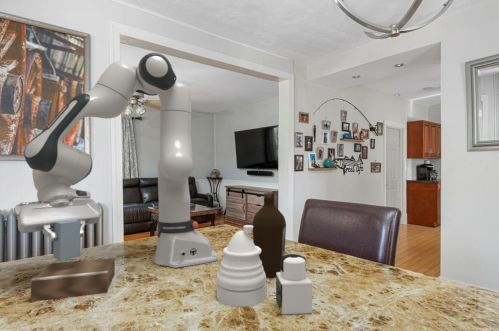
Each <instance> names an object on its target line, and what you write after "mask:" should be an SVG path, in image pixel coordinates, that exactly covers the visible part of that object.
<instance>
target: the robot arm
mask: <svg viewBox="0 0 499 331" xmlns="http://www.w3.org/2000/svg"><path fill="white" fill-rule="evenodd" d="M172 66H173V65H172V64H171V63H170V61H169V59H168V58H167V57H166V56H165V55H163V54H161V53H159V52H150V53H147V54H145V55H144V56H143V57H142V58H141V59H140V60H139V62H138V65H137V66H131V65H130V64H128V63H126V62H124V61H114V62H112V63H111V64H110V65H109V66H108V67H107V68H106V69H105V70H104V72H103V73H102V74H101V75H100V76H99V77H98V79H97V81H96V83H95V84H94V86H93V87H92V88H91V89H90V90H89V91H86V92H85V93H82V92H81V93H78V94H76V95H75V96H74V97H72V99H71V100H69V101H68V102H67V103H66V104H65V106H63V107H62V108H61V110H60V111H59V112H58V114H56V115H55V116H54V118H53V119H52V120H51V121H50V123H48V124H47V126H46V127H45V128H44V129H43V130H42V131H41V132H40V133H39V134H37V135H36V136H35V137H34V138H32V139H31V141H29V143H27V145H26V146H25V148H24V151H23V156H24V159H25V162H26V164H27V165H28V167H29V168H30V169H32V173H31V174H32V181H33V185H34V187H35V190H36V191H37V193H36V198H37V201H30V202H28V201H27V202H20V203H19V204H17V205H15V207H14V214H15V215H16V216H17V217H18V218H17V229H18V231H19V232H20V233H21V234H28V233H34V232H42V234H43V235H44V236H46V237H47V238H49V242H50V243H52V242H53V241H57V239H58V236H57V233H54V231H52V230H54V223H55V222H58V221H66V220H78V221H81V234H80V238H82V237H84V235H85V233H84V228H85V226H86V225H93V224H98V223H99V220H100V219H101V215H102V214H101V213H102V212H101V210H100V209H99V207H98V204H97V202H96V201H95V200H94V199H93V198H92V197H91V196H92V195H91V192H90V191H87V190H81V189H76V188H73V187H72V186H75V185H77V184H79V183H80V182H81V181H83V180H85V179H86V178H87V177H88V176H89V175H90V174H91V172H92V169H93V159H92V156H91V155H90V154H88V153H87V152H84V151H82V150H80V149H78V148H76V147H72V146H71V145H68V144H66V143H64V142H63V140H64V139H65V138H66V136H68V134H69V133H70V131H72V129H73V128H74V127H75V126H76V125H77V123H79V121H81V120H82V119H85V118H89V117H92V118H99V119H107V120H108V119H109V120H110V119H115V118H117V117H119V116H120V115H122V114H123V112H124V111H125V110H126V109H127V106H128V104H129V102H130V101H131V99H132V97H133V95H134V94H135V93H137V94H138V93H139V94H143V95H146V96H150V97H151V96H152V97H153V96H158V98H159V101H160V102H159V103H160V113H159V153H160V155H159V156H160V157H159V161H158V163H157V190H158V191H157V192H158V193H157V194H158V220H157V224H156V236H157V243H156V251H155V255H154V258H153V262H154V264H156V265H159V266H160V265H161V266H163V267H164V266H166V267H170V268H174V269H176V268H183V267H188V266H193V265H194V266H195V265H200V264H207V263H212V262H216V261H217V260H218V252H216V251H215V250H214V249H212V246H211V242H210V240H209V238H207V237H206V236H205V235H204V234H202V232H200V231H199V230H197V228H198V227H199V223H198V222H197V221H196V220H193V219H191V195H190V188H189V187H190V185H189V178H190V177H191V175H192V173H193V170H194V158H193V156H194V154H193V143H192V142H193V141H192V117H193V116H192V111H193V110H192V98H191V92H190V89H189V87H188V86H187V85H186V84H184V83H182V82H180V81H179V82H178V81H177V75H176V72H175V71H174V70H173V67H172Z"/></svg>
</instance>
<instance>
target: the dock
mask: <svg viewBox="0 0 499 331" xmlns="http://www.w3.org/2000/svg"><path fill="white" fill-rule="evenodd" d="M115 259H116V257H111V258H99V259H87V260H76V261H63V262H53V263H50V264H49V265H48V266H47V267H45V268H44V269H43V270H42V271H40V273H39V274H37V275H36V276H35V277H33V278H31V279H30V302H38V301H39V302H40V301H47V300H54V299H56V300H57V299H63V298H64V299H65V298H73V297H81V296H90V295H99V294H100V295H101V294H107V293H108V291H109V289H110V286H111V285H112V284H111V283H112V282H113V279H114V276H115V272H116V270H115V267H116V266H115V264H116V263H115V262H116V261H115Z"/></svg>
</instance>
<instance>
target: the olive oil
mask: <svg viewBox="0 0 499 331" xmlns="http://www.w3.org/2000/svg"><path fill="white" fill-rule="evenodd" d="M263 193H264V194H263V195H264V197H263V205H262V207H261V208H260V209H259V210H258V211H257V212H256V213H255V214H254V216H253V219H252V224H251V225H252V226H253V230H252V241H253V243H254V245H255V246H258V247H259V248H261V253H260V254H259V258H260V260H261V261H262V266H263V269H264V272H265V274H266V278H276V273H277V272H281V257H282V256H284V255H286V253H285V252H286V250H285V249H286V237H287V236H286V235H287V232H286V231H287V222H286V219H285V216H284V214H283V213H282V212H281V211H280V210H279V209H278V208H277V206H276V205H275V193H274V192H263Z"/></svg>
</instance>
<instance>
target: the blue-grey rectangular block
mask: <svg viewBox="0 0 499 331" xmlns="http://www.w3.org/2000/svg"><path fill="white" fill-rule="evenodd" d="M53 233H57V236H58V239H57V241H53V246H52V247H53V248H52V249H53V250H52V252H53V254H52V255H53V256H52V257H53V258H54V259H55V260H58V261H60V262H61V261H65V260H70V259H74V258H80V257H81V237H80V234H81V221H78V220H66V221H58V222H55V223H54V229H53Z"/></svg>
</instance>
